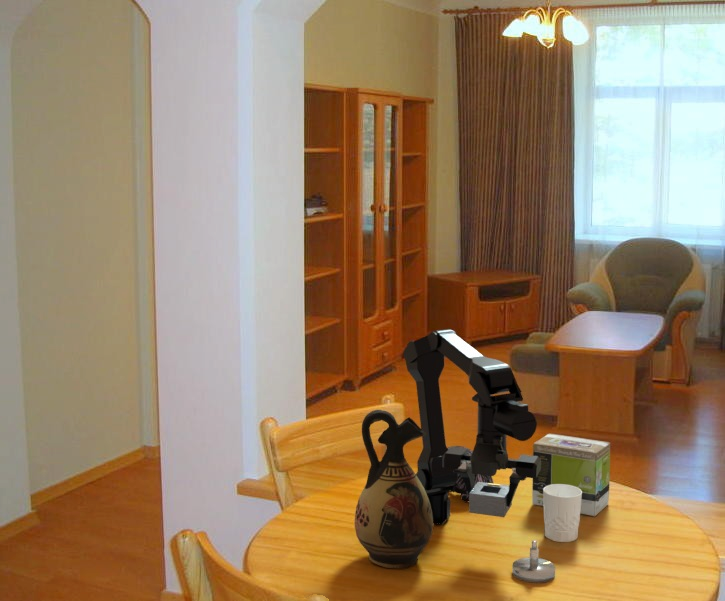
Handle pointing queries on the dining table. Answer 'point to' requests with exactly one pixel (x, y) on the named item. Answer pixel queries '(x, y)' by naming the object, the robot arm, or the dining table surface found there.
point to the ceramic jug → (392, 498)
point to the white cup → (562, 512)
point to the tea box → (574, 469)
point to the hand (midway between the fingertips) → (490, 503)
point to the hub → (533, 567)
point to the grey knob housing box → (489, 499)
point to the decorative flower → (460, 483)
